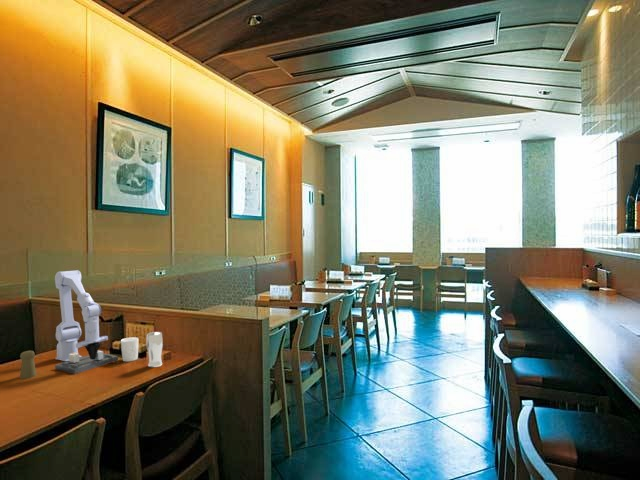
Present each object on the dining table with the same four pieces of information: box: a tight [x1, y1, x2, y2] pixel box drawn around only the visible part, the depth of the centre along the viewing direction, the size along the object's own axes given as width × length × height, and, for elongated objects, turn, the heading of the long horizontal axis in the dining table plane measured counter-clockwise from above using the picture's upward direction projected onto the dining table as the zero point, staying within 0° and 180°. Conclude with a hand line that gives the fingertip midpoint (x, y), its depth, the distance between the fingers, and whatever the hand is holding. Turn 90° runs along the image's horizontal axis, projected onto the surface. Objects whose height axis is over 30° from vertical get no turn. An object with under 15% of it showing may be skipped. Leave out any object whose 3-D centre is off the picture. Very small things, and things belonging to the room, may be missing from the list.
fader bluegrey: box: [96, 350, 104, 360], centre depth 191 cm, size 4×2×4 cm, turn 62°
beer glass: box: [146, 331, 164, 368], centre depth 187 cm, size 7×7×15 cm
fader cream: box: [69, 352, 80, 363], centre depth 188 cm, size 4×2×4 cm, turn 62°
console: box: [54, 352, 119, 375], centre depth 190 cm, size 15×21×3 cm
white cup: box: [120, 336, 139, 362], centre depth 197 cm, size 8×8×10 cm
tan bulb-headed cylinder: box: [19, 350, 37, 380], centre depth 176 cm, size 6×6×11 cm
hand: (92, 359), depth 189 cm, fingers closed
